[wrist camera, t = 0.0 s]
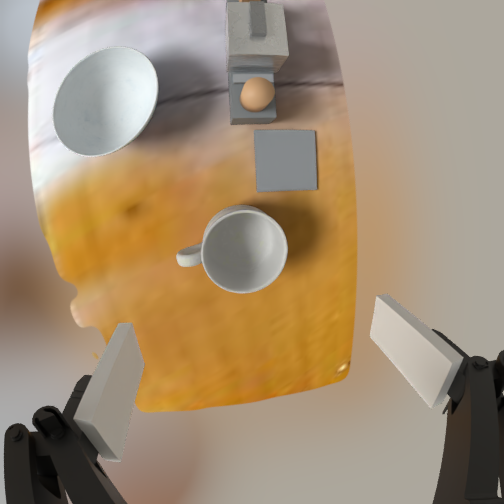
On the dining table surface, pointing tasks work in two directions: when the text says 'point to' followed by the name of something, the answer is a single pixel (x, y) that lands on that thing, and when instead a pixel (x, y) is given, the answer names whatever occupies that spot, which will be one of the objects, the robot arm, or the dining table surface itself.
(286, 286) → the dining table surface
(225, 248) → the teacup
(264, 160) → the mat
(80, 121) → the chinaware
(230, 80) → the plane
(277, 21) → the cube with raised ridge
